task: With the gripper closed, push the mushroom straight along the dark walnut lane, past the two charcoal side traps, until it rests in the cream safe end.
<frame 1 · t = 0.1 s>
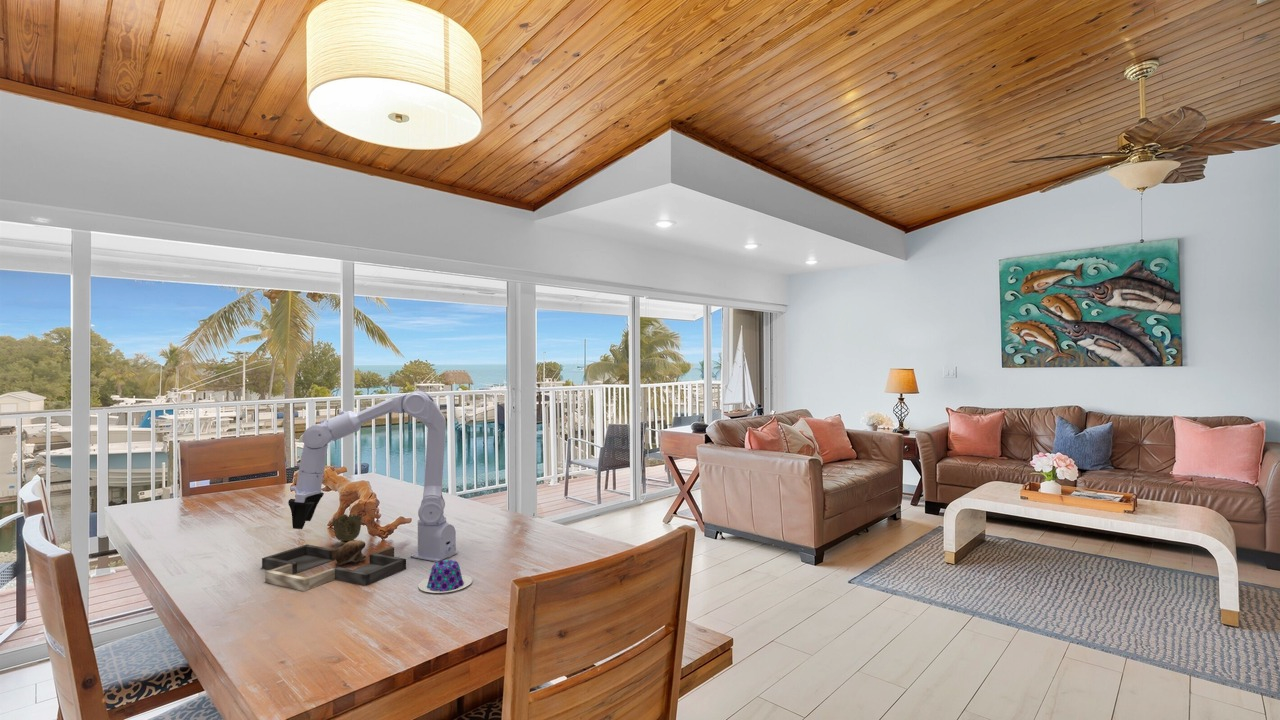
hand: (301, 524, 155), 10 cm above the table, fingers open, 7 cm apart
mushroom: (350, 563, 157), on the table
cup: (347, 545, 172), on the table
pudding: (445, 586, 142), on the table
trap box: (337, 567, 154), on the table
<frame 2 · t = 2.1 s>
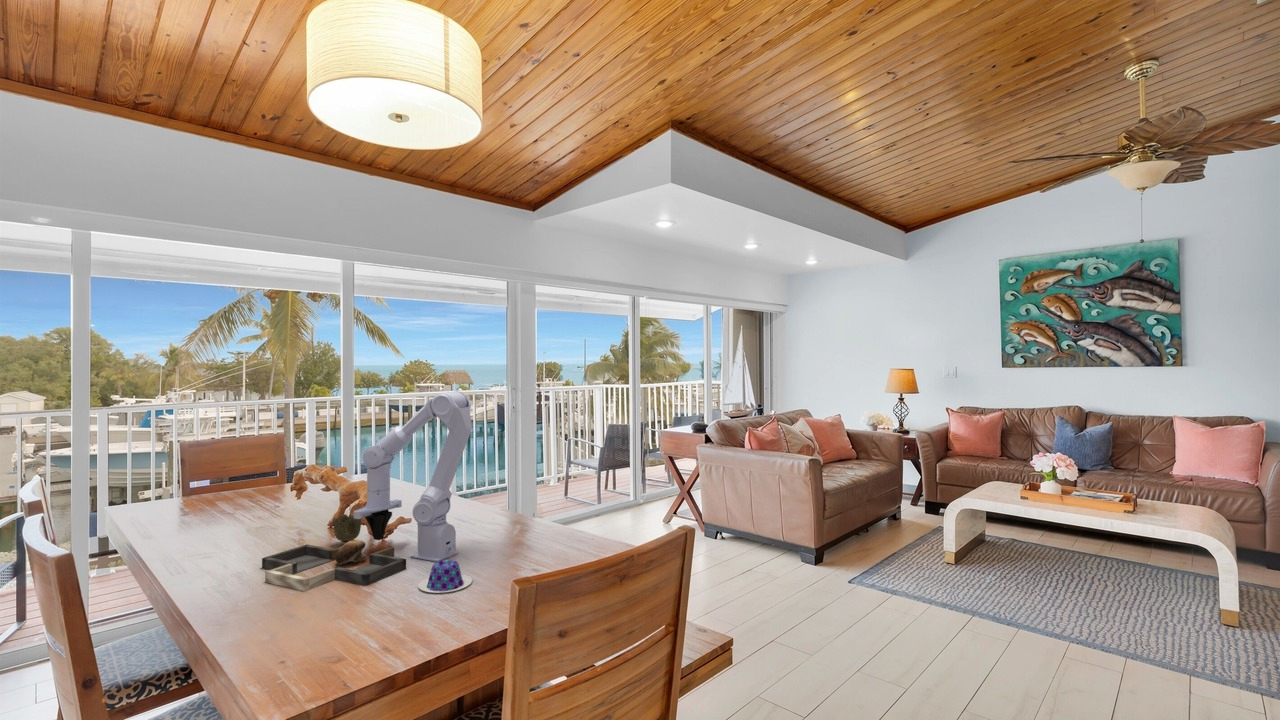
hand: (378, 539, 165), 4 cm above the table, fingers closed
nothing on the table moved.
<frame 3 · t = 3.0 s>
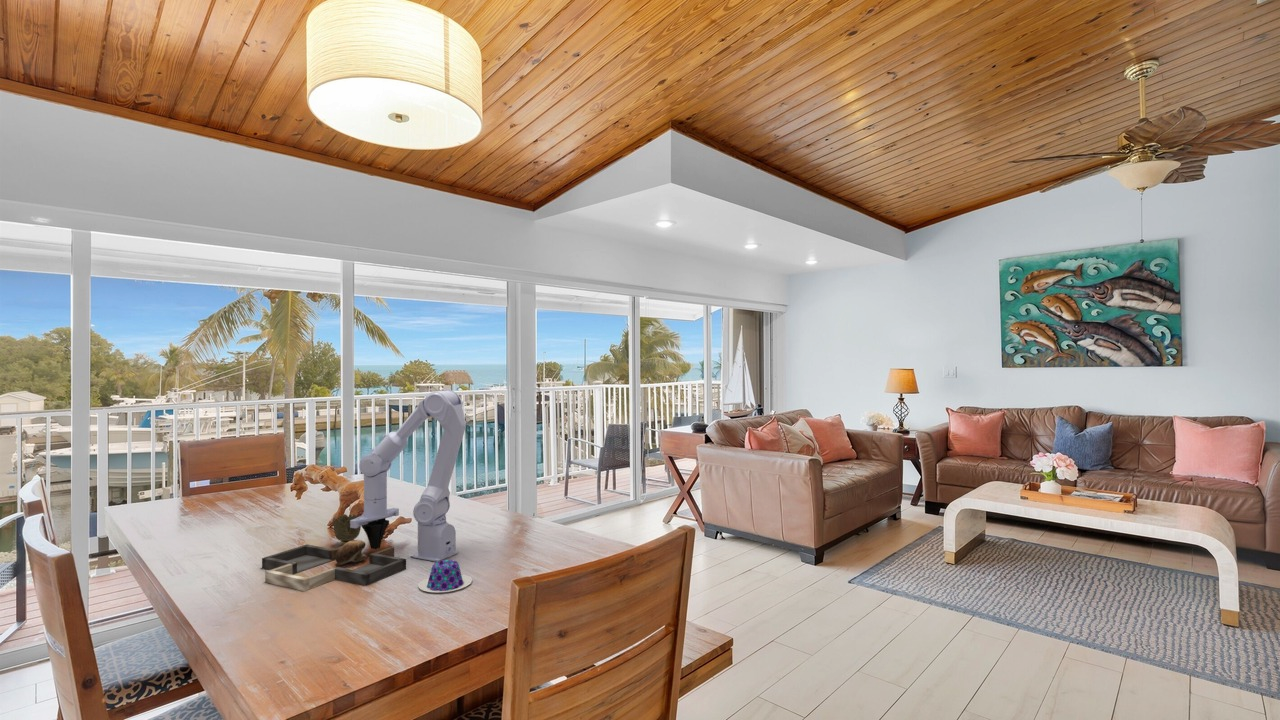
hand: (375, 548, 164), 1 cm above the table, fingers closed
nothing on the table moved.
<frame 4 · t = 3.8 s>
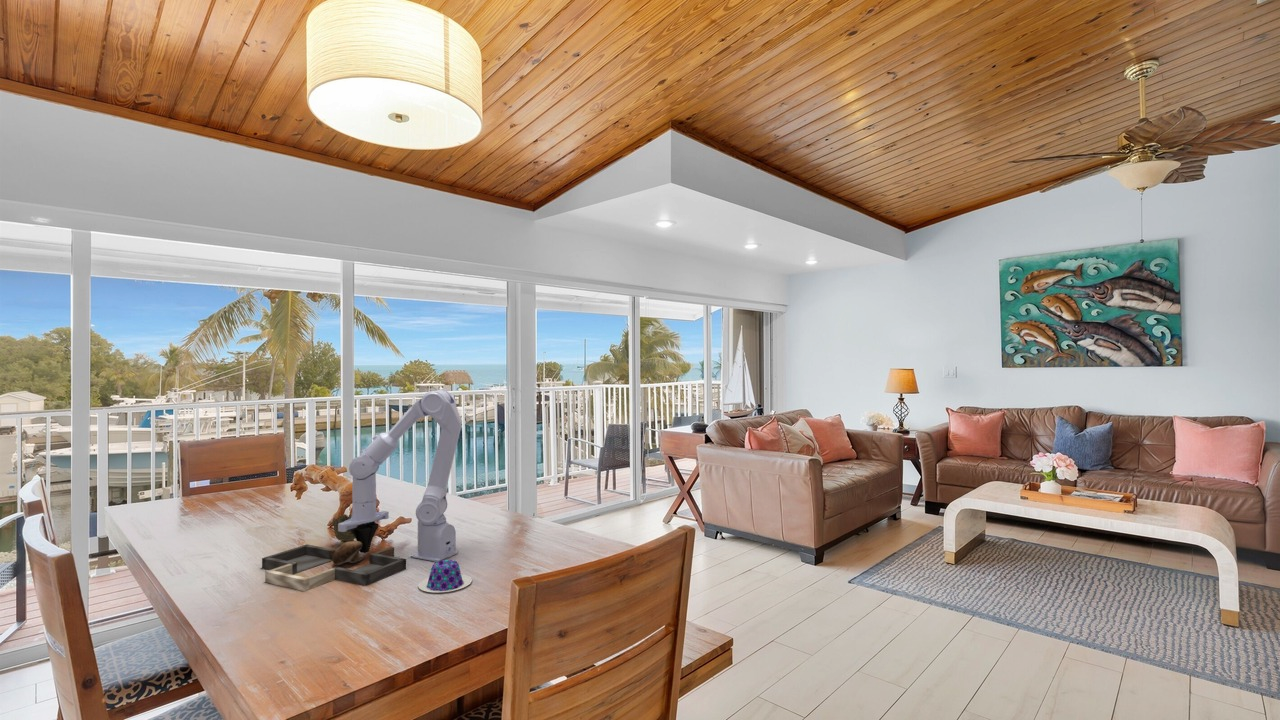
hand: (364, 552, 161), 1 cm above the table, fingers closed
mushroom: (347, 564, 156), on the table, touching gripper
everything else where it was.
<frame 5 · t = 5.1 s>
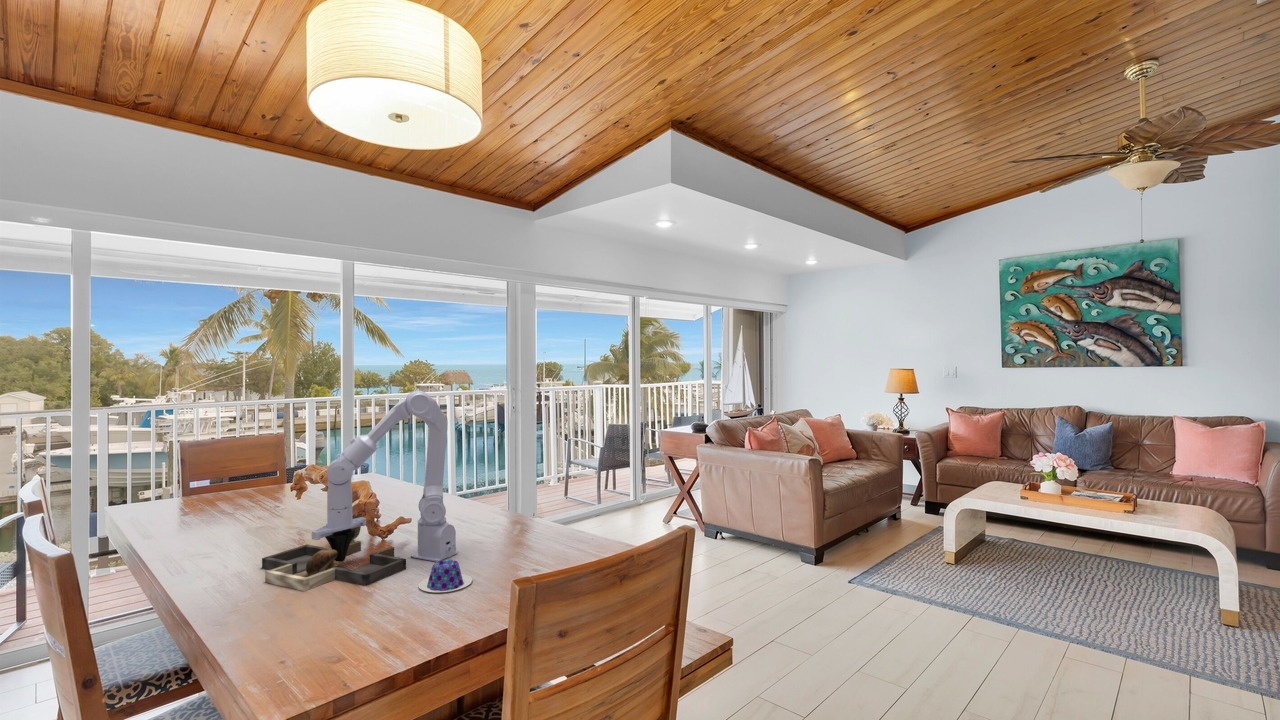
hand: (340, 560, 154), 1 cm above the table, fingers closed
mushroom: (322, 573, 149), on the table, touching gripper
everything else where it was.
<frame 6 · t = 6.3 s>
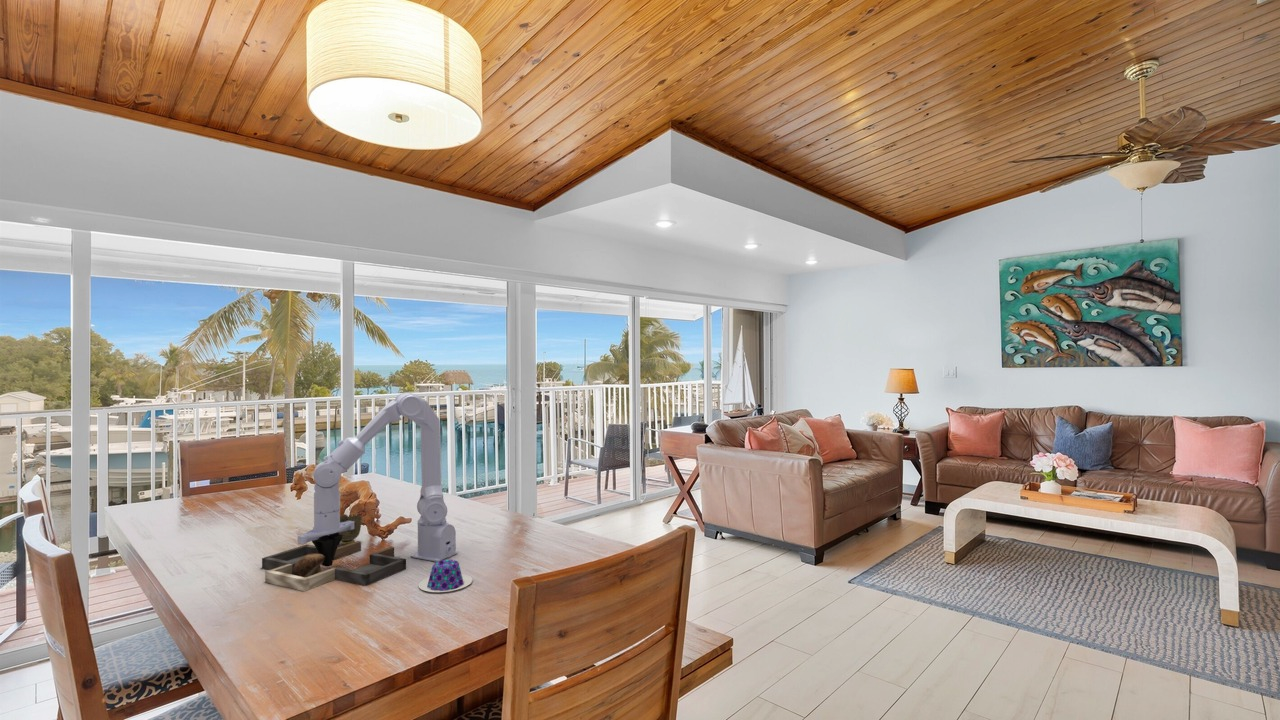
hand: (327, 565, 151), 1 cm above the table, fingers closed
mushroom: (308, 578, 146), on the table, touching gripper
everything else where it was.
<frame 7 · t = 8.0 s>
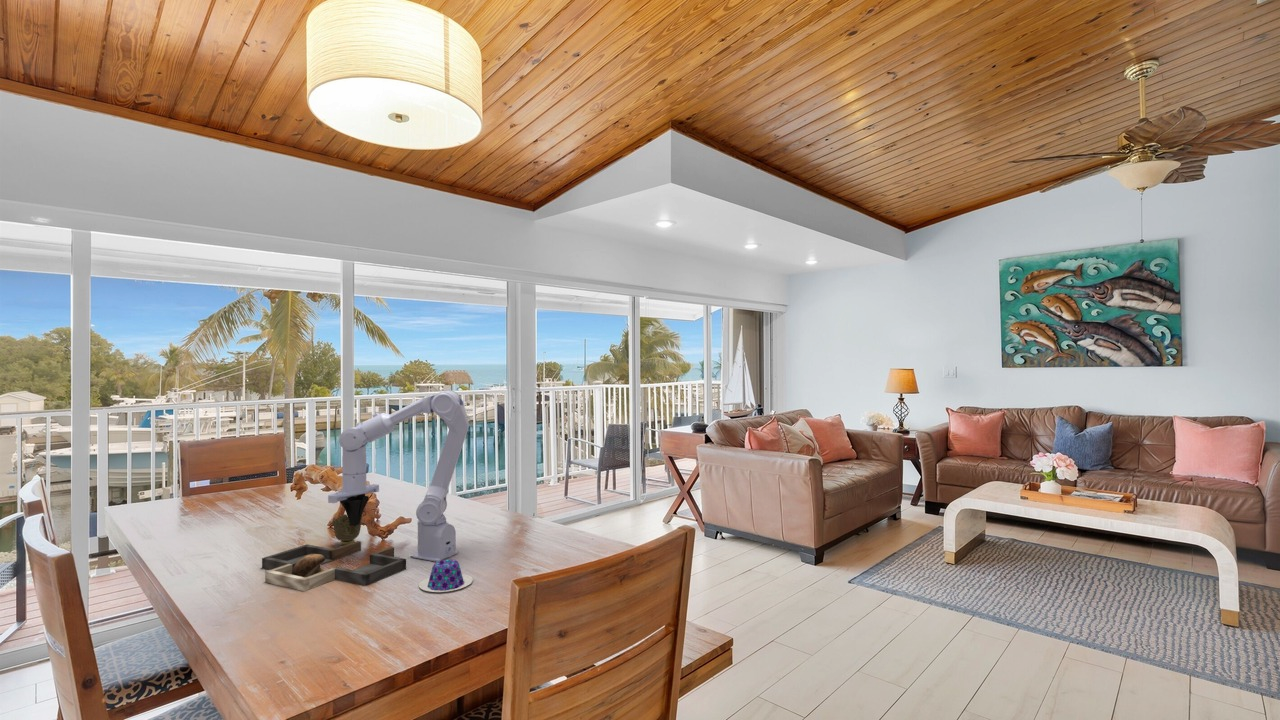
hand: (354, 524, 160), 9 cm above the table, fingers closed
mushroom: (308, 579, 146), on the table
everything else where it was.
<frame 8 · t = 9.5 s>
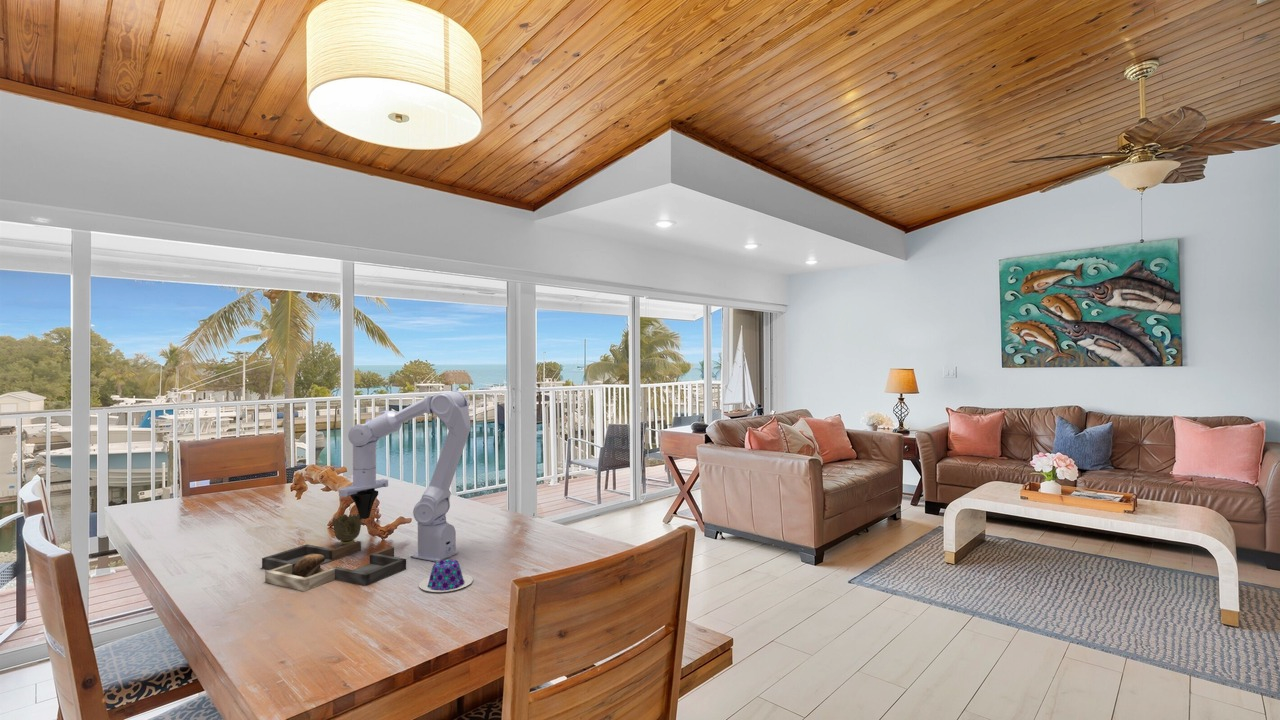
hand: (364, 518, 165), 9 cm above the table, fingers closed
nothing on the table moved.
at the end: mushroom inside the target area (0.4 cm from its centre), on the table; mushroom tilted 1°; mushroom moved 12.2 cm from its start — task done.
